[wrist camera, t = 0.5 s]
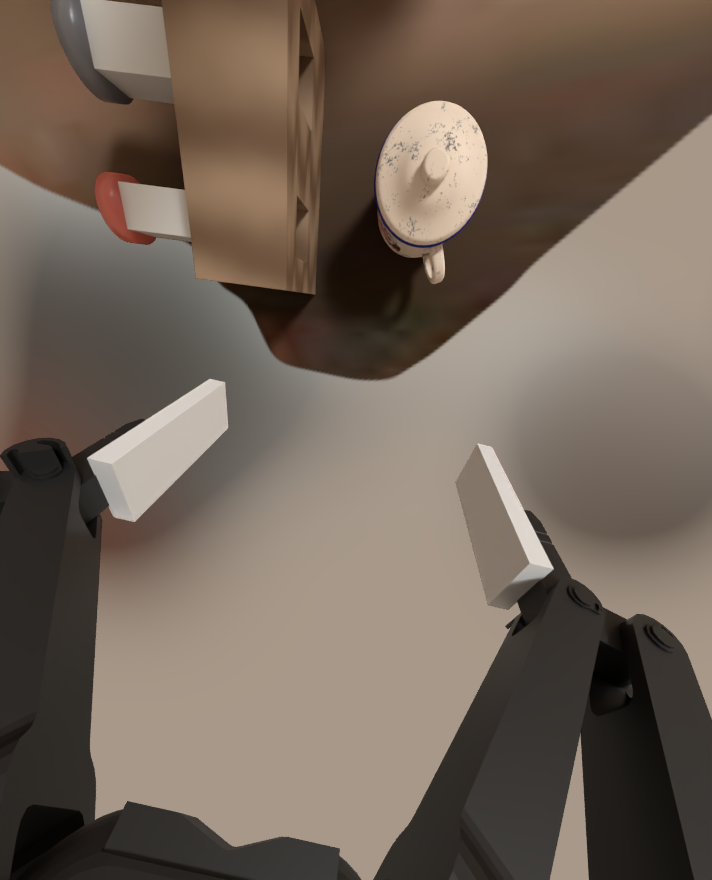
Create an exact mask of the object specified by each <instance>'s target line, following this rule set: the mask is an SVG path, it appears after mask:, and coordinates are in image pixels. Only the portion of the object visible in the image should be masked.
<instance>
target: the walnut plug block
mask: <svg viewBox="0 0 712 880" xmlns="http://www.w3.org/2000/svg"><path fill="white" fill-rule="evenodd" d="M161 2H162V10H163V18H164V26H165V34H166V42H167V50H168V58H169V66H170V74H171V82H172V90H173V98H174V106H175V114H176V122H177V130H178V138H179V146H180V154H181V162H182V170H183V178H184V186H185V194H186V202H187V210H188V218H189V226H190V235H191V243H192V250H193V259H194V267H195V274H196V278H198V279H205V280H212V281H219V282H227V283H234V284H241V285H248V286H255V287H263V288H270V289H278V290H285V291H293V292H300V293H308V294H315V287H316V265H317V244H318V222H319V200H320V178H321V157H322V135H323V113H324V91H325V70H326V50H325V45H324V40H323V36H322V31H321V26H320V21H319V17H318V12H317V7H316V2H315V0H161Z"/></svg>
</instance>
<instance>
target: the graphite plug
mask: <svg viewBox="0 0 712 880" xmlns="http://www.w3.org/2000/svg"><path fill="white" fill-rule="evenodd" d="M51 12H52V17H53V22H54V25H55V29H56V32H57V35H58V38H59V40H60V43H61V45H62V47H63V50H64V52H65V54H66V56H67V58H68V60H69V62H70V63H71V65H72V67H73V69H74V70H75V72H76V73H77V75H78V76H79V78H80V79H81V81H82V82H83V83H84V85H85V86H86V87H87V88H88V89H89V90H90V91H91V92H92V93H93V94H94V95H95V96H96V97H97V98H99V99H100V100H102V101H104V102H110V103H118V104H130V103H131V102H132V100H133V99H140V100H148V101H156V102H164V103H172V104H174V98H173V90H172V82H171V74H170V66H169V58H168V50H167V42H166V34H165V26H164V18H163V10H162V7H157V6H149V5H140V4H132V3H124V2H115V1H107V0H51Z"/></svg>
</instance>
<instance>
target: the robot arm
mask: <svg viewBox="0 0 712 880" xmlns="http://www.w3.org/2000/svg"><path fill="white" fill-rule="evenodd" d="M227 429H228V418H227V403H226V389H225V382H221V381H217V380H213V379H209V380H208V381H206V382H204V383H203V384H201V385H200V386H198V387H197V388H195V389H194V390H192V391H190V392H189V393H187V394H186V395H184V396H183V397H181V398H180V399H178V400H176V401H175V402H173V403H172V404H170V405H169V406H167V407H166V408H164V409H163V410H161V411H159V412H158V413H156V414H155V415H153V416H152V417H150V418H148V419H147V420H144V419H140V420H137V421H134V422H131V423H128V424H126V425H124V426H122V427H121V428H119V429H117V430H116V431H115V432H113V433H111V434H109V435H107V436H106V437H105V439H104V438H103V439H101V440H99V441H98V442H96V443H94V444H93V445H91V446H90V447H88V448H86V449H85V450H83V451H81V452H80V453H78V454H76V455H75V456H73V457H71V454H70V452H69V450H68V448H67V446H66V444H65V442H63V441H61V440H59V439H54V438H38V439H32V440H27V441H24V442H21V443H18V444H15V445H13V446H11V447H9V448H8V449H6V450H4V451H3V453H2V454H1V455H0V457H1V459H2V460H3V461H4V463H5V464H6V466H7V467H8V469H9V470H10V471H0V880H361V879H360V877H359V876H358V874H357V873H356V872H355V871H354V870H353V869H352V867H351V866H350V865H349V864H348V863H347V862H346V861H345V860H344V859H342V858H341V857H340V856H339V852H340V849H339V848H335V847H330V846H326V845H321V844H316V843H312V842H308V841H303V840H299V839H294V838H290V837H278V838H274V839H269V840H265V841H261V842H257V843H252V844H248V845H244V846H239V847H233V846H231V845H229V844H228V843H227V842H226V841H224V840H223V839H222V838H221V837H220V836H218V835H217V834H216V833H215V832H213V831H212V830H211V829H210V828H208V826H206V825H205V824H204V823H203V822H201V821H200V820H199V819H198V818H196V817H192V816H189V815H185V814H182V813H178V812H174V811H169V810H164V809H160V808H156V807H151V806H147V805H142V804H138V803H133V802H129V801H127V803H126V805H125V807H124V809H123V810H119V811H115V812H113V813H110V814H107V815H104V816H102V817H100V818H98V819H96V820H95V801H96V778H95V771H94V766H93V762H92V759H91V754H90V729H91V711H92V693H93V676H94V658H95V638H96V622H97V604H98V586H99V568H100V551H101V532H102V518H101V515H100V513H101V512H102V511H103V510H104V509H106V508H107V507H108V506H109V508H110V510H111V512H112V515H113V517H116V518H120V519H124V520H128V521H133V522H135V521H136V520H137V519H138V518H139V517H140V516H141V515H142V514H143V513H144V512H145V511H146V510H147V509H148V508H149V507H150V506H151V505H152V504H153V503H154V502H155V501H156V500H157V499H158V498H159V497H160V496H161V495H162V494H163V493H164V492H165V491H166V490H167V489H168V488H169V487H170V486H171V485H172V484H173V483H174V482H175V481H176V480H177V479H178V478H179V477H180V476H181V475H182V474H183V473H184V472H185V471H186V470H187V469H188V468H189V467H190V466H191V465H192V464H193V463H194V462H195V461H196V460H197V459H198V458H199V457H200V456H201V455H202V454H203V453H204V452H205V451H206V450H207V449H208V448H209V447H210V446H211V445H212V444H213V443H214V442H215V441H216V440H217V439H218V438H219V437H220V436H221V435H222V434H223V432H225V431H226V430H227ZM456 486H457V490H458V494H459V498H460V502H461V505H462V509H463V513H464V517H465V520H466V524H467V528H468V532H469V536H470V539H471V543H472V547H473V551H474V554H475V558H476V562H477V566H478V569H479V573H480V577H481V581H482V585H483V588H484V592H485V596H486V600H487V604H488V605H489V606H494V607H498V608H503V609H507V610H508V609H510V608H511V607H512V606H513V605H514V604H515V603H516V602H518V605H519V608H520V611H521V613H520V614H519V615H518V616H517V617H515V618H514V619H513V620H512V621H511V622H510V623H508V624H507V625H506V628H507V629H509V628H510V627H511V628H510V630H509V632H508V634H507V636H506V638H505V640H504V642H503V644H502V646H501V648H500V649H499V651H498V654H497V655H496V657H495V659H494V661H493V663H492V665H491V667H490V669H489V671H488V673H487V675H486V677H485V679H484V681H483V683H482V685H481V686H480V689H479V690H478V692H477V694H476V696H475V698H474V700H473V702H472V704H471V706H470V708H469V710H468V712H467V714H466V716H465V718H464V720H463V722H462V723H461V725H460V727H459V729H458V731H457V733H456V735H455V737H454V739H453V741H452V743H451V745H450V747H449V749H448V751H447V753H446V755H445V757H444V759H443V760H442V762H441V764H440V766H439V768H438V770H437V772H436V774H435V776H434V778H433V780H432V782H431V784H430V786H429V788H428V790H427V791H426V794H425V795H424V797H423V799H422V801H421V803H420V805H419V807H418V809H417V811H416V813H415V815H414V817H413V818H412V820H411V822H410V823H409V825H408V826H407V827H406V828H405V830H404V831H403V832H402V833H401V834H400V835H399V837H398V838H397V839H396V841H395V842H394V843H393V845H392V846H391V848H390V850H389V852H388V854H387V855H386V857H385V859H384V860H383V862H382V864H381V866H380V868H379V870H378V872H377V874H376V876H375V878H374V879H373V880H550V875H551V870H552V865H553V861H554V856H555V851H556V846H557V842H558V837H559V832H560V827H561V823H562V818H563V813H564V808H565V804H566V799H567V794H568V789H569V784H570V780H571V775H572V770H573V766H574V760H575V756H576V751H577V746H578V742H579V737H580V732H581V746H582V747H581V748H582V766H583V783H584V798H585V799H584V801H585V817H586V836H587V853H588V870H589V880H712V719H711V717H710V713H709V711H708V708H707V705H706V703H705V700H704V697H703V695H702V692H701V689H700V686H699V684H698V681H697V678H696V676H695V673H694V670H693V668H692V665H691V662H690V660H689V657H688V654H687V653H686V651H685V649H684V647H683V645H682V644H681V643H680V642H679V640H678V639H677V638H676V637H675V636H674V634H673V633H671V632H670V631H669V630H668V629H667V628H666V627H664V626H663V625H662V624H660V623H659V622H658V621H656V620H655V619H653V618H651V617H649V616H646V615H643V614H636V615H634V616H633V617H631V618H629V619H628V620H627V619H625V618H623V617H621V616H619V615H617V614H615V613H613V612H611V611H609V610H607V609H605V608H603V607H602V604H601V602H600V601H599V600H598V598H597V597H596V596H595V595H594V593H593V592H592V591H590V590H589V589H588V588H587V587H586V586H585V585H583V584H581V583H579V582H578V581H576V580H574V579H572V578H571V576H570V574H569V573H568V571H567V569H566V567H565V565H564V563H563V562H562V560H561V558H560V556H559V554H558V553H557V551H556V549H555V547H554V545H552V542H551V540H550V538H549V536H548V535H547V533H546V531H545V529H544V527H543V525H542V523H541V522H540V521H539V520H538V519H537V518H536V516H535V515H534V514H533V513H532V512H531V511H527V510H524V509H523V508H522V506H521V503H520V501H519V500H518V498H517V496H516V494H515V492H514V490H513V488H512V486H511V484H510V482H509V480H508V478H507V476H506V474H505V472H504V470H503V468H502V466H501V464H500V462H499V460H498V458H497V456H496V454H495V452H494V450H493V448H492V447H490V446H486V445H481V444H477V445H476V447H475V448H474V450H473V452H472V454H471V456H470V457H469V459H468V461H467V463H466V465H465V467H464V468H463V470H462V472H461V473H460V475H459V477H458V479H457V481H456Z"/></svg>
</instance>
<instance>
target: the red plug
mask: <svg viewBox="0 0 712 880" xmlns="http://www.w3.org/2000/svg"><path fill="white" fill-rule="evenodd" d="M95 196H96V201H97V205H98V208H99V210H100V213H101V215H102V217H103V219H104V220H105V222H106V224H107V225H108V226H109V228H110V229H111V230H112V231H113V232H114V234H116V235H117V236H118V237H119V238H121V239H122V240H124V241H126V242H130V243H137V244H145V245H148V244H151V243H152V242H154V241H155V239H156V237H159V238H166V239H173V240H181V241H188V242H191V235H190V226H189V218H188V210H187V202H186V194H185V190H182V189H174V188H166V187H158V186H151V185H143V184H140V183H139V182H138V181H137V180H136V179H135V178H134V177H132V176H130V175H128V174H121V173H114V172H102V173H101V174H99V175H98V177H97V179H96V182H95Z"/></svg>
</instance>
